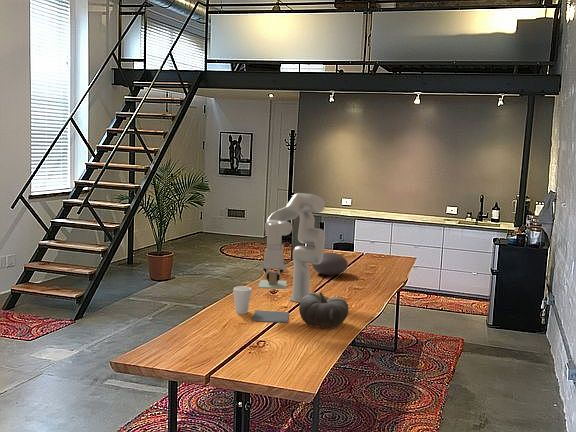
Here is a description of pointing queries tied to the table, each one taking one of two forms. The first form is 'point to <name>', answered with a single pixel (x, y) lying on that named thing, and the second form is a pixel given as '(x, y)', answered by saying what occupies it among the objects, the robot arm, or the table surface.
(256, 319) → the mat
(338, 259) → the smooth stone
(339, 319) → the gourd
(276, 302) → the table surface
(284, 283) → the lid
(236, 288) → the foam cup
